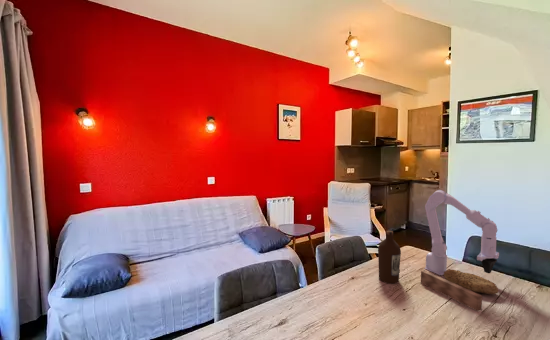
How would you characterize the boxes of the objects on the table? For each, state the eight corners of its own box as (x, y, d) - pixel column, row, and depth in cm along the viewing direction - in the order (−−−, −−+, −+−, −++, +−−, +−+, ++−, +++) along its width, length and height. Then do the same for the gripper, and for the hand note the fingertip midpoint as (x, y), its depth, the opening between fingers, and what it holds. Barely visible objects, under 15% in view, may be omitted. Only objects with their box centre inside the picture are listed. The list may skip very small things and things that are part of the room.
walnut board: (420, 282, 132) (421, 271, 132) (424, 281, 133) (424, 270, 133) (477, 311, 108) (478, 297, 108) (481, 309, 109) (482, 295, 109)
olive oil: (373, 278, 137) (374, 230, 136) (385, 272, 143) (386, 227, 142) (392, 286, 128) (393, 235, 127) (404, 280, 134) (405, 232, 133)
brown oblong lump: (441, 283, 134) (481, 295, 115) (441, 267, 135) (481, 276, 116) (461, 285, 137) (503, 296, 118) (461, 269, 139) (502, 278, 120)
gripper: (488, 250, 124) (487, 278, 125) (506, 246, 130) (505, 273, 131) (472, 245, 131) (471, 272, 132) (490, 241, 136) (489, 267, 137)
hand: (487, 272), depth 132 cm, fingers closed
